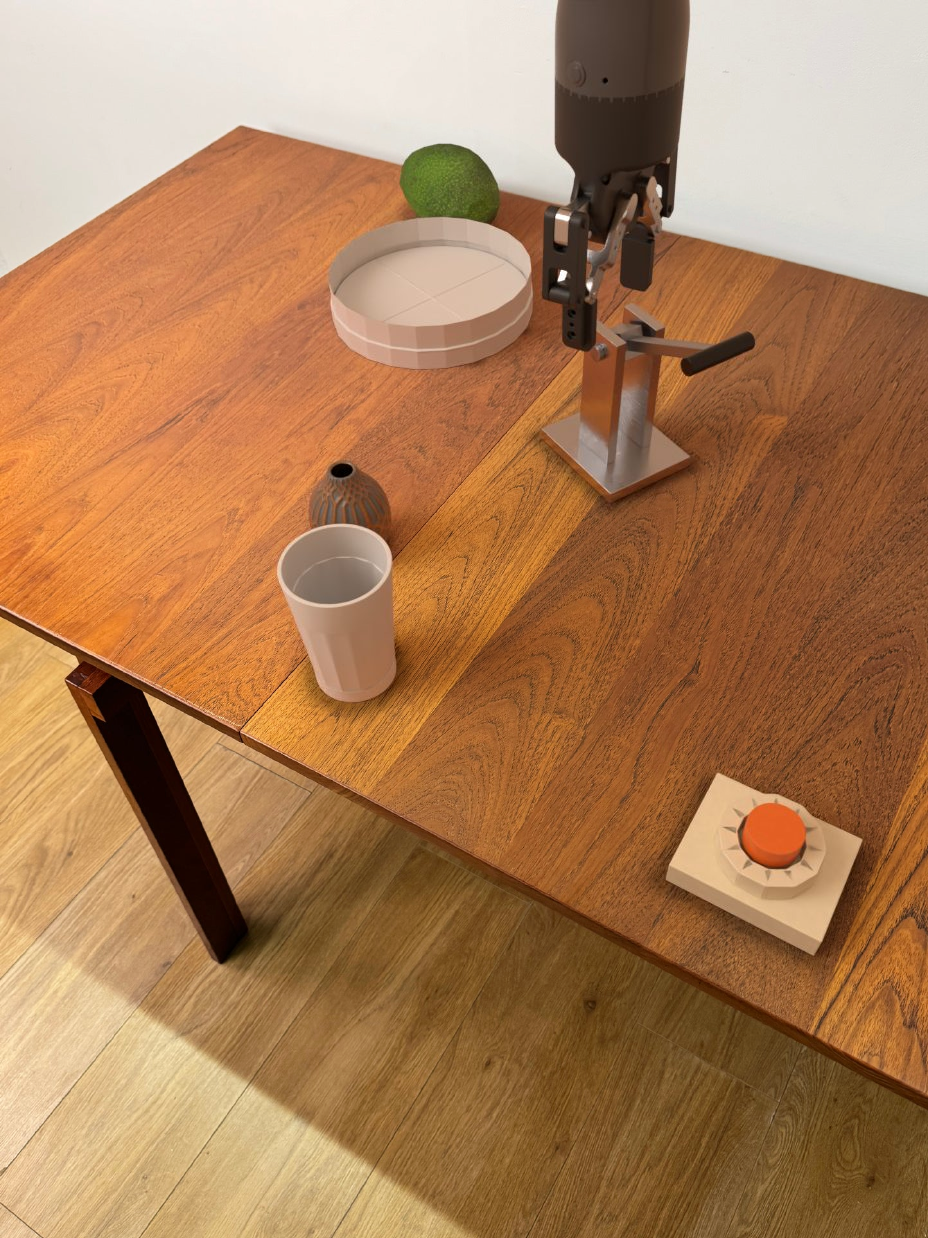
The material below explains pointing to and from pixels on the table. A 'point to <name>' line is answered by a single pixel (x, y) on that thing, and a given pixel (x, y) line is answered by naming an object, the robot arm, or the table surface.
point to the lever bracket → (618, 417)
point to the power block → (763, 867)
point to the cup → (343, 607)
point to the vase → (350, 500)
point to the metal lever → (683, 348)
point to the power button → (773, 835)
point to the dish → (431, 292)
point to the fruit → (450, 184)
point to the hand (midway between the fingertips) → (608, 315)
